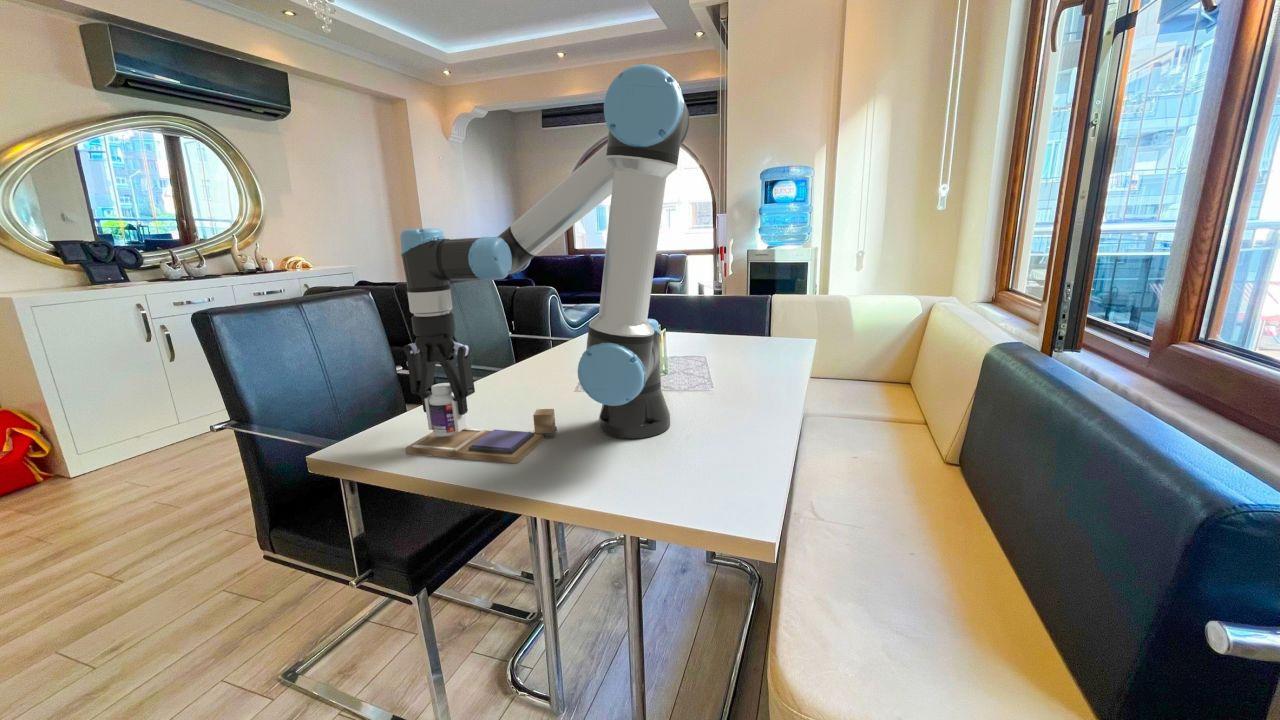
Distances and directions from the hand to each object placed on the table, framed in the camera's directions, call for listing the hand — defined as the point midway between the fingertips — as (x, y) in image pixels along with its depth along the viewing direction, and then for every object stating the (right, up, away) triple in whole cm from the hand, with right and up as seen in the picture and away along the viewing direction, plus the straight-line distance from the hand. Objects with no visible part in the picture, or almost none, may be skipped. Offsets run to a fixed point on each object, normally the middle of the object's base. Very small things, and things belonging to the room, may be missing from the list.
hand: (447, 428), depth 103 cm
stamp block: (+19, -2, +4) cm, 19 cm away
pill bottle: (0, -1, 0) cm, 1 cm away
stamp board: (+6, -4, -1) cm, 7 cm away
